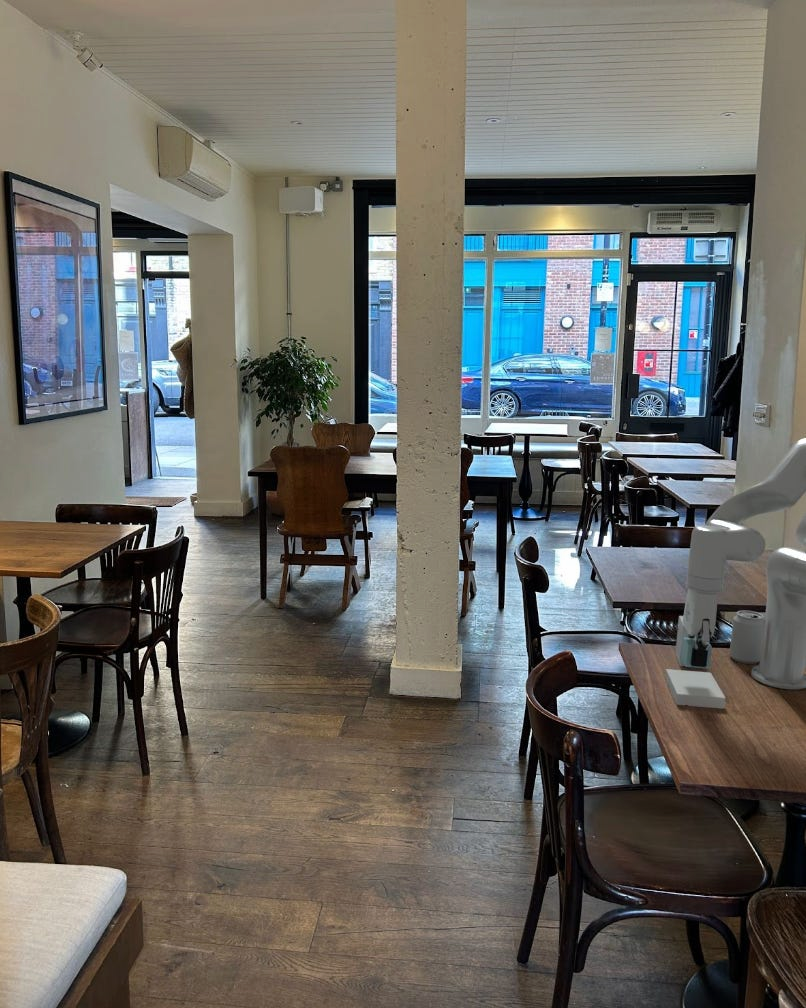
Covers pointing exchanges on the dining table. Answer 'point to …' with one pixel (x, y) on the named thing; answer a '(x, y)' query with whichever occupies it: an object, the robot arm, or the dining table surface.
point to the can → (747, 637)
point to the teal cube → (687, 653)
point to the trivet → (694, 689)
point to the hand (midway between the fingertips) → (695, 660)
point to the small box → (680, 640)
